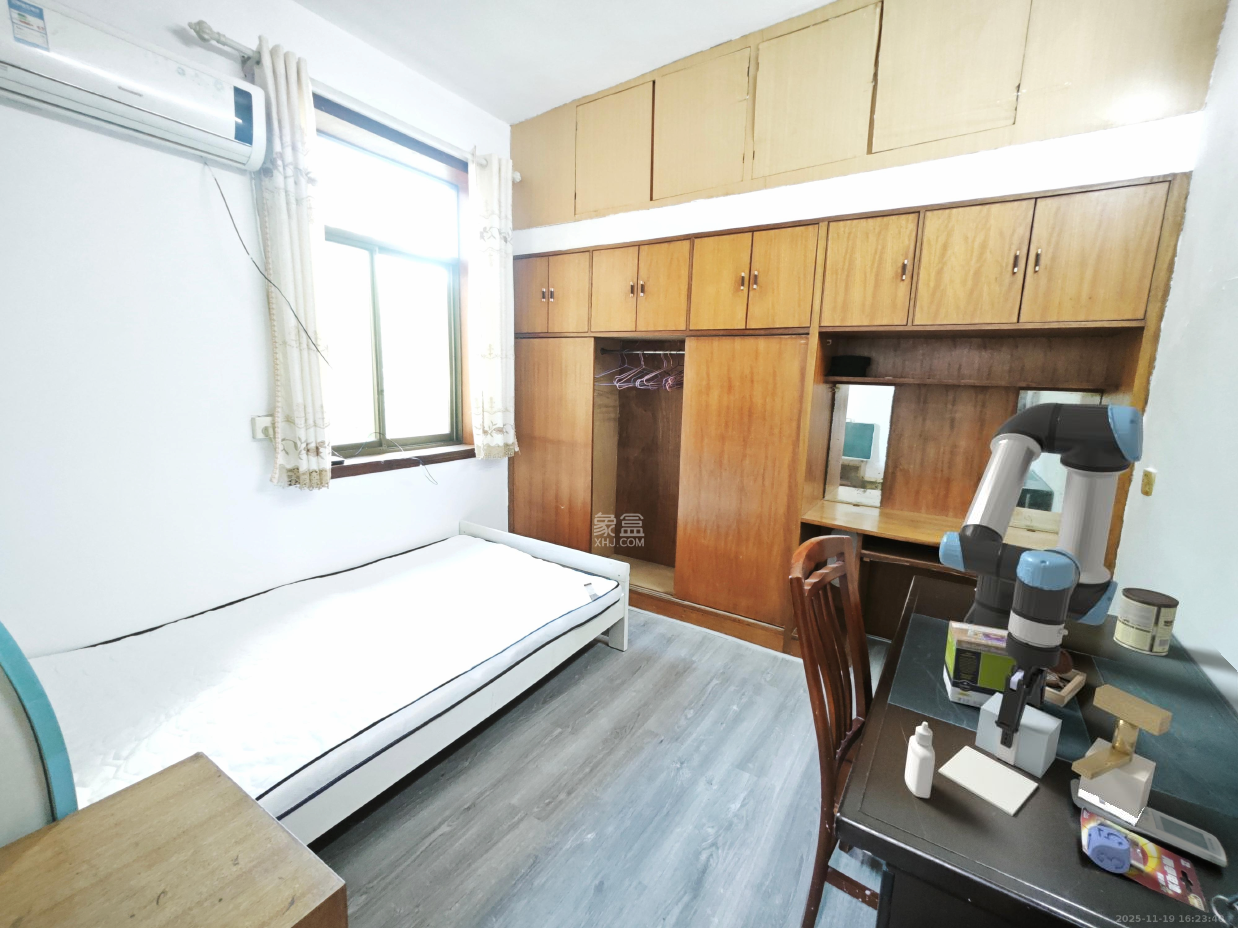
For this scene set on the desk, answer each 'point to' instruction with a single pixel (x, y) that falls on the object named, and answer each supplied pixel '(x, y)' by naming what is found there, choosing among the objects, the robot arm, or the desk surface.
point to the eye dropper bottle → (920, 762)
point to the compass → (1059, 669)
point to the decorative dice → (1108, 849)
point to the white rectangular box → (1122, 782)
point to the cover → (1022, 736)
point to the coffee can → (1145, 621)
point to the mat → (989, 779)
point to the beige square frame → (1066, 688)
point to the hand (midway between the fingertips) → (1014, 750)
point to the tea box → (975, 663)
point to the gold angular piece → (1122, 730)
